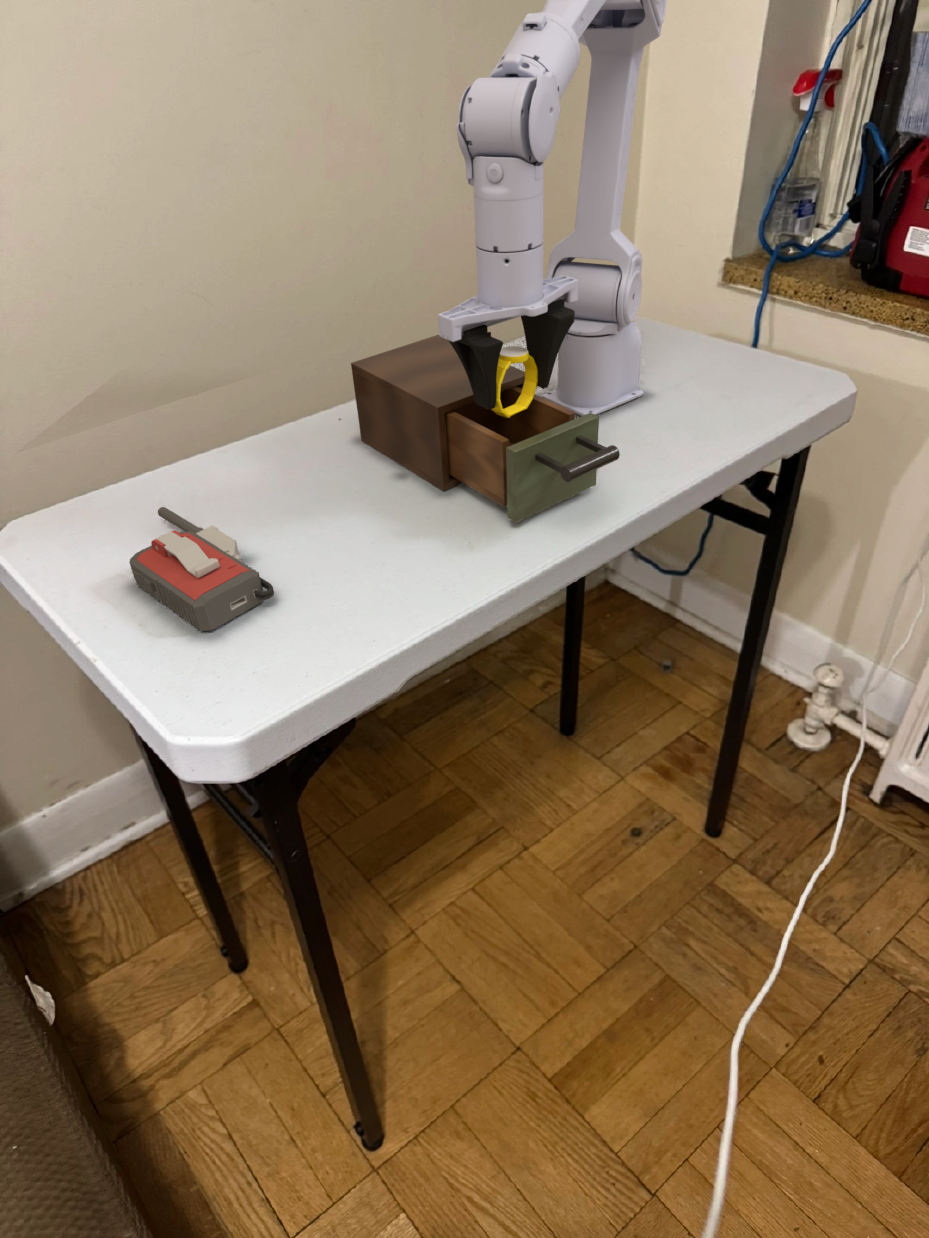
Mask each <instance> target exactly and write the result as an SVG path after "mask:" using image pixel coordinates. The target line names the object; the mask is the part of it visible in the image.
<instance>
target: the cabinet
mask: <svg viewBox="0 0 929 1238" xmlns="http://www.w3.org/2000/svg"><path fill="white" fill-rule="evenodd" d="M350 368H351V374H352V375H351V376H352V381H353V389H354V396H355V404H356V410H357V412H356V413H357V418H358V426H359V433H360V441H361V442H363V443H364V444H366V445H367V446H369V447H370V448H371V449H374V450H375V451H377V452H379V453H381V454H382V455H384V456H385V457H387V458H388V459H390V460H392V461H393V462H395V463H397V464H398V465H400V466H401V467H403V468H405V469H406V470H408V471H409V472H411V473H413V474H415V475H416V476H418V477H419V478H421V479H422V480H424V481H425V482H427V483H429V484H431V485H432V486H434V487H435V488H437V489H439V490H440V491H442V492H446V491H449V490H452V489H454V488H456V487H458V486H460V485H463V484H464V483H463V482H461V481H459V480H458V479H456V478H454V477H453V476H451V475H449V469H448V455H447V441H446V426H445V413H446V412H449V411H451V410H454V409H457V408H459V407H462V406H464V405H467V404H470V403H472V402H475V398H474V395H473V391H472V388H471V385H470V382H469V379H468V376H467V374H466V371H465V369H464V367H463V364H462V362H461V361H460V359H459V357H458V355H457V353H456V352H455V350H454V348H453V347H452V345H451V344H450V342H449V341H448V340H447V339H444V338H442V337H440V336H439V334H435V335H434V336H430V337H426V338H423V339H421V340H418V341H414V342H412V343H408V344H406V345H402V346H399V347H396V348H393V349H390V350H386V351H383V352H381V353H378V354H373V355H370V356H368V357H365V358H362V359H359V360H356V361H352V362H350ZM524 381H525V370H522V369H519V368H518V367H515V366H512V365H510V366H509V368H508V369H507V370H506V372H505V375H504V378H503V381H502V383H501V391H500V392H502V391H504V390H507V389H510V388H512V387H515V386H517V387H519V388H522V389H523V385H524Z"/></svg>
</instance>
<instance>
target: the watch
mask: <svg viewBox="0 0 929 1238" xmlns="http://www.w3.org/2000/svg"><path fill="white" fill-rule="evenodd" d="M528 353H529V352H528V350H527V347H523V346H517V345H512V346H511V345H510V346H504V347H502V349H501V352H500V356H499V360H498V366H497V374H496V404H495V408H493V409H491V410H492V411H494V412H495V413H496V414H497V415H500V416H503V417H506V418H510V416H512V415H514V414H516V413H519V412H521V411H523V410H525V409H527V408H528V406H529V404H530V403H531V401H532V399H533V397H534V394H535V395H536V390H537V387H538V386H537V382H538V370H537V366H536V364H535V361H534V358H533V357H532V356H530V355H528ZM521 363H522V364H523V368H524V372H525V381H524V385H523V389H522V392H521V395H520V396H519V398H518V400H517V401H516V403H515V404H514V405H511V406H509V407H507V408H504V409H503V408H502V404H501V401H500V391H501V383H502V381H503V378H504V375H505V372H506V370H507V369H508V368H509V366H512V364H521Z"/></svg>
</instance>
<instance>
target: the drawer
mask: <svg viewBox="0 0 929 1238" xmlns="http://www.w3.org/2000/svg"><path fill="white" fill-rule="evenodd" d="M521 392H522V388H519V387H517V386H515V387H512V388H510V389H507V390H504V391H502V392H500V401H501V404H502V408H503V409H504V408H507V407H509V406H511V405H514V404H515V403H516V401H517V400H518V398H519V396H520V395H521ZM445 426H446V441H447V455H448V469H449V475H451V476H453V477H454V478H456V479H458V480H459V481H461V482H463V484H465V485H466V486H467V487H469V488H471V489H473V490H475V491H476V492H478V493H480V494H482V495H483V496H485V497H486V498H488V499H490V500H492V501H493V502H495V503H497V504H498V505H500V506H501V507H504V508H505V507H507V508H506V509H507V519H509V520H510V521H512V522H514V523H515V524H516V523H518V522H520V521H522V520H525V519H527V518H529V517H531V516H533V515H535V514H537V513H540V512H542V511H544V510H546V509H548V508H550V507H552V506H554V505H557V504H559V503H561V502H563V501H565V500H567V499H569V498H571V497H574V496H575V495H577V494H580V493H582V492H585V491H586V490H589V489H591V488H593V487H595V486H596V485H597V470H598V469H600V468H602V467H605V466H607V465H608V464H611V463H614V462H617V460H619V458H620V456H621V454H620V453H621V452H620V449H619V448H618V447H617V446H616V445H613V444H612V445H609V446H604V445H602V444H600V443H599V431H600V429H599V427H600V416H599V415H598V414H597V415H595V414H592V413H588V414H586V415H583V416H579V417H576V413H575V412H573V411H571V410H569V409H566V408H564V407H562V406H560V405H557V404H555V403H553V402H551V401H549V400H546V399H544V398H542V396H539V395H538V394H536V393H535V394H534V397H533V399H532V401H531V403H530V404H529V406H528V408H527V409H525V410H523V411H521V412H519V413H516V414H514V415H512V416H510V418H506V417H503V416H500V415H497V414H496V413H495V412H494V411H492V410H491V409H490V410H487V409H485V408H483V407H481V406H479V405H477V404H476V402H472V403H470V404H467V405H464V406H462V407H459V408H457V409H454V410H451V411H449V412H446V413H445Z"/></svg>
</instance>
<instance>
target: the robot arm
mask: <svg viewBox="0 0 929 1238" xmlns="http://www.w3.org/2000/svg"><path fill="white" fill-rule="evenodd" d="M666 10H667V0H546V1H545V2H544V6H543V8H542V10H541V11H540V12H534V13H531V12H529V13H527V14H526V16H525V17H524V18H523V20H522V21H521V22H520V24H519V25H518V27H517V28H516V30H515V32H514V33H513V35H512V37H511V39H510V41H509V42H508V44H507V46H506V47H505V49H504V51H503V52H502V54H501V56H500V57H499V59H498V61H497V63H496V64H495V65H494V67H493V69H492V71H491V72H490V74H489V76H488V77H487V76H485V77H478V78H476V79H475V80H474V81H473V83H472V84H469V85H467V87H466V88H465V89H464V90H463V93H462V94H461V97H460V100H459V101H460V102H459V106H458V112H457V113H458V115H457V124H456V135H457V141H458V145H459V148H460V151H461V153H462V156H463V159H464V165H465V178H466V180H467V183H468V185H470V186H471V187H472V189H473V190H472V191H473V212H474V213H473V215H474V237H475V259H476V261H475V262H476V282H477V283H476V285H477V286H476V287H477V294H475V295H473V296H472V297H470V298H468V299H466V300H464V301H463V302H461V303H459V304H458V305H456V306H454V307H453V308H450V309H449V310H446V311H444V312H440V313H438V314H437V324H438V325H437V326H438V335H439V336H440V337H442V338H444V339H447V340H448V341H449V342H450V344H451V345H452V347H453V348H454V350H455V352H456V353H457V355H458V357H459V359H460V361H461V362H462V364H463V367H464V369H465V371H466V374H467V376H468V379H469V382H470V385H471V388H472V391H473V395H474V398H475V402H476V404H477V405H479V406H481V407H483V408H485V409H487V410H490V409H493V408H495V404H496V374H497V366H498V360H499V356H500V352H501V349H502V348H503V345H504V342H503V341H502V340H501V339H498V338H496V337H493V336H492V332H491V331H489V330H488V328H489V327H492V326H495V325H499V324H501V323H504V322H507V321H511V320H514V319H516V318H520V319H521V322H522V328H523V332H524V338H525V344H526V345H525V346H526V349H527V350H528V352H529V353H528V355H530V356H532V357H533V358H534V361H535V364H536V366H537V370H538V382H537V387H538V388H541V389H543V390H544V389H547V388H549V385H550V382H551V378H552V375H553V370H554V367H555V363H556V360H557V388H554V389H552V390H550V391H547V392H545V393H543V394H541V397H542V398H544V399H546V400H549V401H551V402H553V403H555V404H557V405H560V406H562V407H564V408H566V409H569V410H571V411H573V412H575V415H577V416H579V417H581V416H583V415H586V414H588V413H592V414H595V415H597V416H598V415H599V414H602V413H604V412H606V411H608V410H612V409H614V408H616V407H618V406H621V405H624V404H626V403H628V402H630V401H633V400H635V399H638V398H640V397H642V396H644V390H642V389H641V388H639V387H640V386H639V385H640V374H641V373H640V372H641V361H642V346H643V341H642V335H641V331H640V329H639V326H638V324H637V323H636V322H635V318H636V317H637V314H638V312H639V309H640V304H641V298H642V292H643V291H642V290H643V278H642V267H643V258H642V253H641V251H640V250H639V248H638V247H637V245H635V244H634V243H633V242H632V241H631V240H630V239H629V238H628V237H627V236H626V235H625V234H624V233H623V232H622V230H621V225H622V224H621V223H622V215H623V208H624V199H625V192H626V191H625V190H626V183H627V182H626V181H627V175H628V174H627V173H628V165H629V157H630V150H631V149H630V148H631V141H632V140H631V139H632V132H633V122H634V114H635V107H636V100H637V99H636V98H637V91H638V82H639V74H640V69H641V64H642V60H643V54H644V50H645V47H646V46H647V45H649V44H650V43H652V42H654V41H655V40H657V39H658V38H660V36H661V35H662V34H661V33H662V26H663V24H664V21H665V16H666ZM580 44H582V45H583V46H585V47H587V49H588V52H589V55H590V57H591V60H590V69H589V80H588V89H587V99H586V100H587V102H586V111H585V121H584V131H583V141H582V152H581V160H580V161H581V162H580V172H579V182H578V192H577V202H576V212H575V222H574V230H573V231H572V232H571V233H569V234H568V235H566V236H565V237H564V238H562V239H561V240H560V241H558V242H557V243H556V244H555V245H554V246H553V247H552V248H551V251H550V254H549V260H548V266H547V271H546V274H545V277H544V190H545V189H544V187H545V185H544V184H545V182H544V181H545V180H544V179H545V177H544V175H545V174H544V173H545V171H544V170H545V169H544V165H545V164H544V163H545V161H546V159H547V158H548V156H549V155H550V154H551V153H552V149H553V146H554V142H555V138H556V130H557V126H558V121H559V119H560V114H561V104H560V101H561V100H562V99H563V98H562V97H563V96H564V94H565V92H566V90H567V88H568V86H569V85H570V83H571V81H572V79H573V77H574V76H575V73H576V71H577V70H578V67H579V65H580V61H581V47H580ZM575 259H586V260H597V261H610V262H613V263H615V264H604V263H594V262H593V263H592V262H580V261H574V260H575Z"/></svg>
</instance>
